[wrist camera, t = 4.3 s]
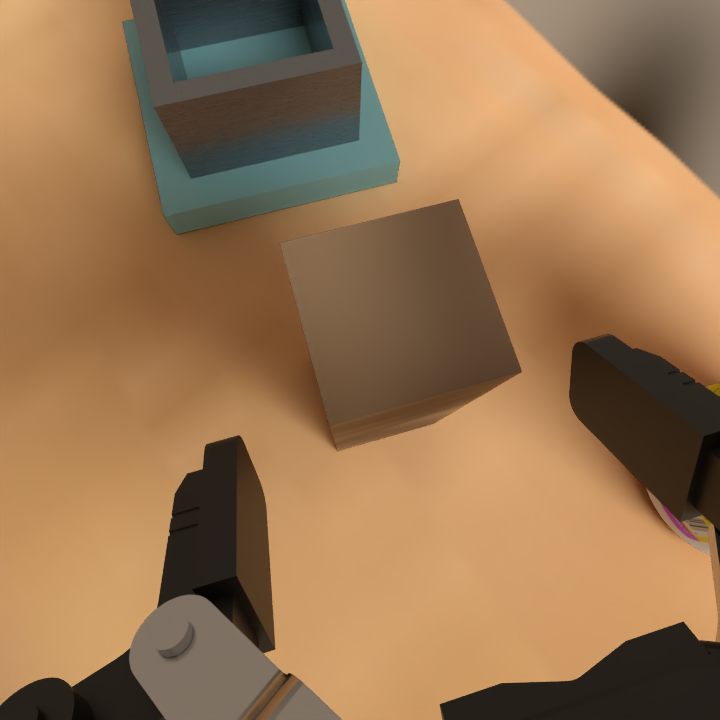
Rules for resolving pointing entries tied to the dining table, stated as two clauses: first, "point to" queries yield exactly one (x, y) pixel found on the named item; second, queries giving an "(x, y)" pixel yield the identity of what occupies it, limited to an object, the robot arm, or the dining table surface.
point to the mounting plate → (272, 178)
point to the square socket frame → (250, 81)
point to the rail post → (398, 321)
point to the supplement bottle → (693, 528)
